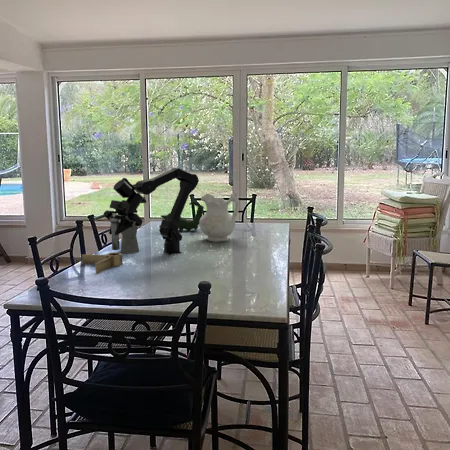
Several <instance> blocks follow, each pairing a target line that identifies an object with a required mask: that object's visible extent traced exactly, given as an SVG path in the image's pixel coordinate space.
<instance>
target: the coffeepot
mask: <svg viewBox="0 0 450 450" xmlns="http://www.w3.org/2000/svg"><path fill="white" fill-rule="evenodd" d="M120 222H121V220H120V221H119V223H120ZM135 223H136V222H134V223H133V224H132V225H133V227H130V228H128V229H126V230H125V231H123V232H121V233H120V234H121V245H120V246H121V247H120V253H121V254H134V253H138V252H140V247H139V243H138V237H137V234H138V228H139V226H136V225H135Z"/></svg>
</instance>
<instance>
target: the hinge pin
mask: <svg viewBox="0 0 450 450" xmlns="http://www.w3.org/2000/svg"><path fill="white" fill-rule="evenodd" d="M118 221H119V218H110V221H109V223H110V226H111V248H112V249H111V250H113V251H119V250H121V247H120V246H121V245H120V234H118V235H115V232H116V230H117V228H118V226H119V225H118Z"/></svg>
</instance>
